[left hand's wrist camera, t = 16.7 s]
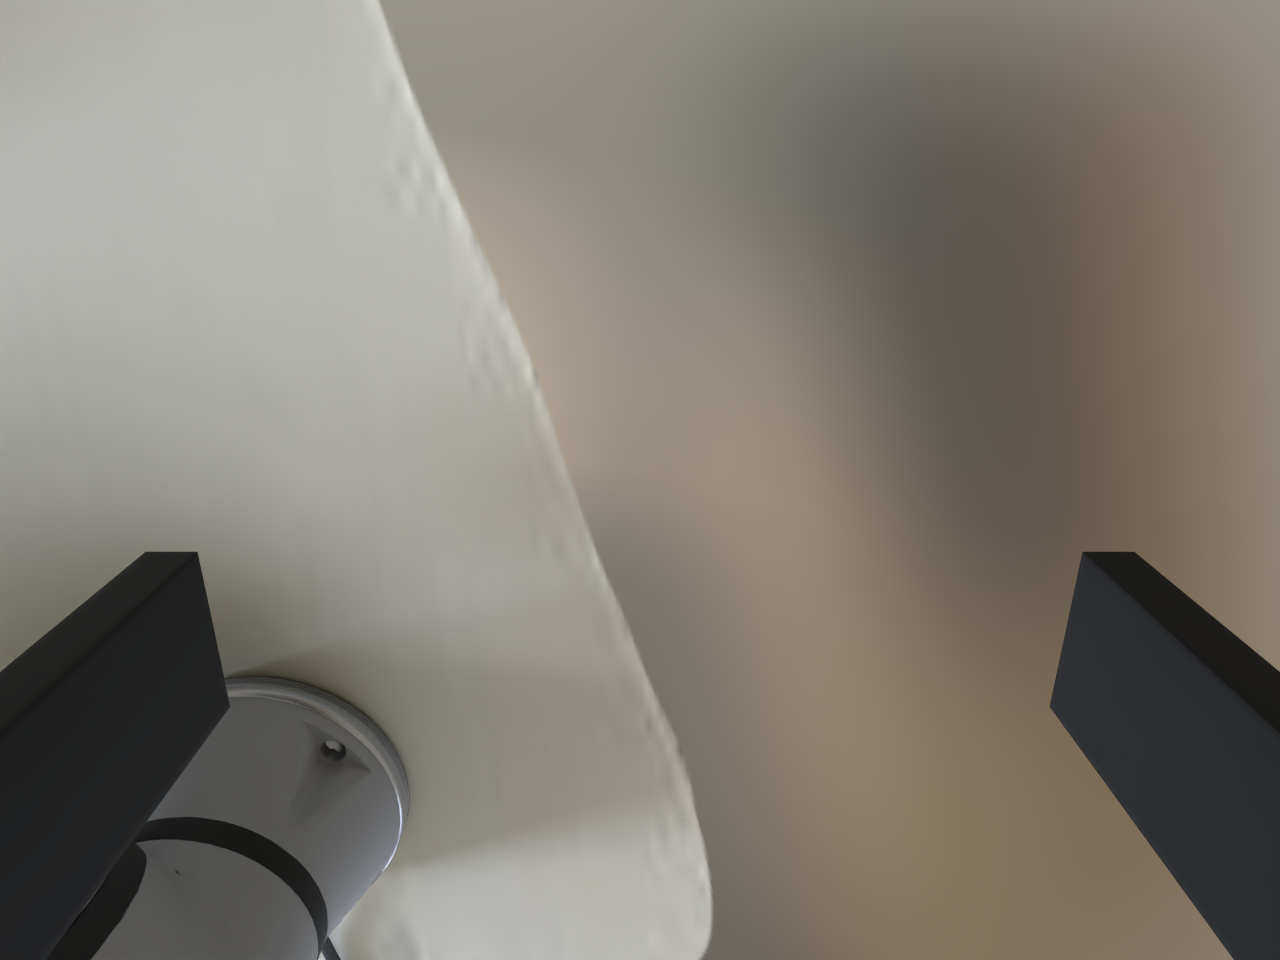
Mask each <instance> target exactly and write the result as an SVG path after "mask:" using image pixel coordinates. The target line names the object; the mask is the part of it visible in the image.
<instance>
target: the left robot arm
mask: <svg viewBox="0 0 1280 960" xmlns="http://www.w3.org/2000/svg"><path fill="white" fill-rule="evenodd" d="M1050 708H1051V709H1052V710H1053V712H1054V713H1055V715H1056V716H1057V717H1058V719H1059V720H1060V721H1061V723H1062V724H1063V726H1064V727H1065V728H1066V730H1067V731H1068V732H1069V734H1070V735H1071V736H1072V738H1073V739H1074V741H1075V742H1076V743H1077V745H1078V746H1079V747H1080V749H1081V750H1082V752H1083V753H1084V754H1085V756H1086V757H1087V759H1088V760H1089V761H1090V763H1091V764H1092V765H1093V767H1094V768H1095V769H1096V771H1097V772H1098V774H1099V775H1100V776H1101V778H1102V779H1103V780H1104V782H1105V783H1106V785H1107V786H1108V787H1109V789H1110V790H1111V791H1112V793H1113V794H1114V796H1115V797H1116V798H1117V800H1118V801H1119V802H1120V804H1121V805H1122V807H1123V808H1124V809H1125V811H1126V812H1127V813H1128V815H1129V816H1130V818H1131V819H1132V820H1133V822H1134V823H1135V824H1136V826H1137V827H1138V828H1139V830H1140V831H1141V833H1142V834H1143V835H1144V837H1145V838H1146V839H1147V841H1148V842H1149V844H1150V845H1151V846H1152V848H1153V849H1154V851H1155V852H1156V853H1157V855H1158V856H1159V857H1160V859H1161V860H1162V862H1163V863H1164V864H1165V865H1166V867H1167V868H1168V870H1169V871H1170V873H1171V874H1172V875H1173V877H1174V878H1175V879H1176V881H1177V882H1178V883H1179V885H1180V886H1181V888H1182V889H1183V890H1184V892H1185V893H1186V894H1187V896H1188V897H1189V899H1190V900H1191V901H1192V903H1193V904H1194V905H1195V907H1196V908H1197V910H1198V911H1199V912H1200V914H1201V915H1202V916H1203V918H1204V919H1205V920H1206V922H1207V923H1208V925H1209V926H1210V927H1211V929H1212V930H1213V932H1214V933H1215V934H1216V936H1217V937H1218V938H1219V940H1220V941H1221V943H1222V944H1223V945H1224V947H1225V948H1226V949H1227V951H1228V952H1229V954H1230V955H1231V956H1232V958H1233V959H1234V960H1280V672H1279V671H1278V670H1277V669H1276V668H1274V667H1273V666H1272V665H1271V664H1269V663H1268V662H1267V661H1266V660H1265V659H1263V658H1262V657H1261V656H1260V655H1259V654H1257V653H1256V652H1255V651H1254V650H1253V649H1251V648H1250V647H1249V646H1248V645H1246V644H1245V643H1244V642H1243V641H1242V640H1240V639H1239V638H1238V637H1237V636H1236V635H1234V634H1233V633H1232V632H1231V631H1229V630H1228V629H1227V628H1226V627H1225V626H1223V625H1222V624H1221V623H1220V622H1219V621H1217V620H1216V619H1215V618H1214V617H1213V616H1211V615H1210V614H1209V613H1208V612H1206V611H1205V610H1204V609H1203V608H1202V607H1200V606H1199V605H1198V604H1197V603H1196V602H1194V601H1193V600H1192V599H1191V598H1190V597H1188V596H1187V595H1186V594H1185V593H1183V592H1182V591H1181V590H1180V589H1179V588H1177V587H1176V586H1175V585H1174V584H1173V583H1171V582H1170V581H1169V580H1168V579H1166V578H1165V577H1164V576H1163V575H1162V574H1160V573H1159V572H1158V571H1157V570H1156V569H1154V568H1153V567H1152V566H1151V565H1150V564H1148V563H1147V562H1146V561H1145V560H1143V559H1142V558H1141V557H1140V556H1139V555H1137V554H1136V553H1135V552H1082V557H1081V562H1080V567H1079V571H1078V576H1077V581H1076V585H1075V590H1074V595H1073V600H1072V605H1071V609H1070V614H1069V618H1068V623H1067V628H1066V633H1065V637H1064V642H1063V647H1062V651H1061V656H1060V661H1059V666H1058V670H1057V675H1056V680H1055V684H1054V689H1053V694H1052V699H1051V703H1050ZM408 809H409V788H408V782H407V777H406V774H405V771H404V768H403V765H402V763H401V761H400V758H399V756H398V755H397V753H396V751H395V749H394V747H393V746H392V745H391V743H390V742H389V740H388V739H387V738H386V736H385V735H384V734H383V733H382V732H381V730H380V729H379V728H378V727H377V726H376V725H375V724H374V723H373V722H372V721H371V720H370V719H368V718H367V717H366V716H365V715H363V714H362V713H361V712H360V711H358V710H357V709H356V708H354V707H353V706H351V705H350V704H348V703H346V702H345V701H343V700H341V699H340V698H338V697H336V696H334V695H332V694H330V693H327V692H325V691H323V690H320V689H318V688H315V687H313V686H310V685H306V684H303V683H299V682H295V681H291V680H286V679H280V678H272V677H238V678H230V679H225V680H224V675H223V670H222V666H221V661H220V656H219V651H218V647H217V642H216V637H215V633H214V628H213V623H212V618H211V614H210V609H209V604H208V600H207V595H206V590H205V585H204V581H203V576H202V571H201V567H200V562H199V557H198V553H197V552H145V553H144V554H143V555H141V556H140V557H139V558H138V559H137V560H135V561H134V562H133V563H132V564H130V565H129V566H128V567H127V568H126V569H124V570H123V571H122V572H121V573H120V574H118V575H117V576H116V577H115V578H113V579H112V580H111V581H110V582H109V583H107V584H106V585H105V586H104V587H103V588H101V589H100V590H99V591H98V592H97V593H95V594H94V595H93V596H92V597H90V598H89V599H88V600H87V601H86V602H84V603H83V604H82V605H81V606H80V607H78V608H77V609H76V610H75V611H74V612H72V613H71V614H70V615H69V616H67V617H66V618H65V619H64V620H63V621H61V622H60V623H59V624H58V625H57V626H55V627H54V628H53V629H52V630H50V631H49V632H48V633H47V634H46V635H44V636H43V637H42V638H41V639H40V640H38V641H37V642H36V643H35V644H34V645H32V646H31V647H30V648H29V649H27V650H26V651H25V652H24V653H23V654H21V655H20V656H19V657H18V658H17V659H15V660H14V661H13V662H12V663H11V664H9V665H8V666H7V667H6V668H4V669H3V670H2V671H1V672H0V960H318V958H319V955H320V953H321V952H322V953H323V955H324V957H325V959H326V960H341V959H340V958H339V956H338V954H337V952H336V950H335V948H334V947H333V945H332V943H331V941H330V939H329V937H328V935H329V934H330V933H331V932H332V931H333V929H334V928H335V927H336V926H337V925H338V924H339V922H340V921H341V920H342V919H343V918H344V917H345V915H346V914H347V913H348V912H349V911H350V909H351V908H352V907H353V906H354V905H355V904H356V902H357V901H358V900H359V899H360V897H361V896H362V895H363V894H364V892H365V891H366V890H367V889H368V887H369V886H370V885H371V884H372V883H373V882H374V881H375V880H376V879H377V878H378V877H379V875H380V874H381V873H382V872H383V871H384V869H385V868H386V867H387V865H388V864H389V862H390V861H391V859H392V857H393V855H394V853H395V851H396V848H397V845H398V842H399V840H400V837H401V834H402V831H403V828H404V825H405V822H406V819H407V814H408Z"/></svg>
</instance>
